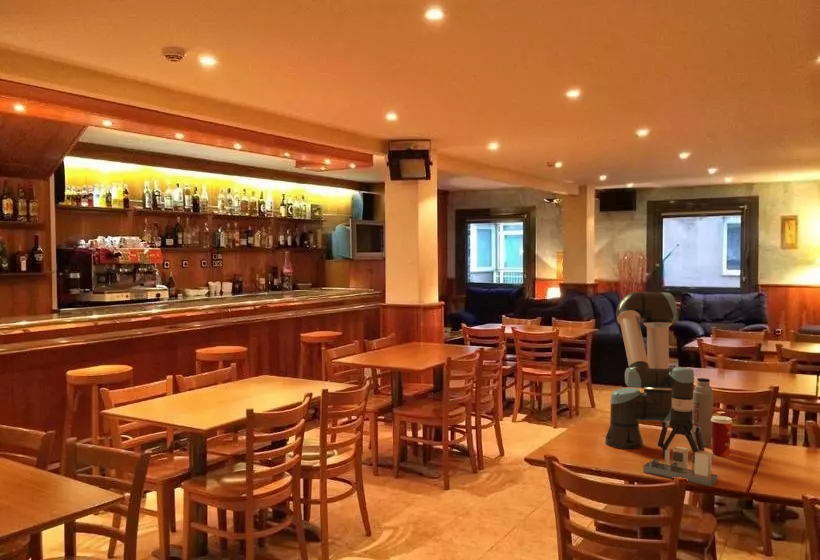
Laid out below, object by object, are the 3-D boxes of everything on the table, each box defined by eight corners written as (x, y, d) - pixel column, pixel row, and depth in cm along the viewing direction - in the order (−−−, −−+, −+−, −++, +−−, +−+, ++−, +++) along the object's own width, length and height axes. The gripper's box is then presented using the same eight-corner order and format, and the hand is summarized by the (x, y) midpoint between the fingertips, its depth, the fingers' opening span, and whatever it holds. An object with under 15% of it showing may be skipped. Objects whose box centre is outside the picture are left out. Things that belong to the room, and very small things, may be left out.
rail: (643, 472, 256) (644, 443, 256) (650, 467, 262) (651, 440, 261) (711, 486, 241) (712, 456, 241) (717, 482, 246) (718, 452, 246)
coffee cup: (734, 458, 276) (735, 420, 276) (711, 456, 278) (713, 419, 277) (728, 452, 285) (730, 415, 284) (707, 450, 286) (708, 414, 286)
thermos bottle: (697, 446, 292) (699, 380, 291) (687, 441, 300) (689, 377, 299) (715, 446, 293) (717, 380, 292) (705, 441, 301) (707, 377, 300)
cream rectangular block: (676, 467, 263) (677, 446, 263) (687, 469, 261) (688, 448, 260) (671, 470, 259) (672, 449, 259) (682, 472, 256) (683, 451, 256)
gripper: (649, 406, 264) (647, 465, 264) (709, 415, 249) (707, 477, 250) (656, 403, 269) (654, 461, 270) (715, 412, 255) (713, 473, 256)
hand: (680, 469), depth 260 cm, fingers open, 9 cm apart
